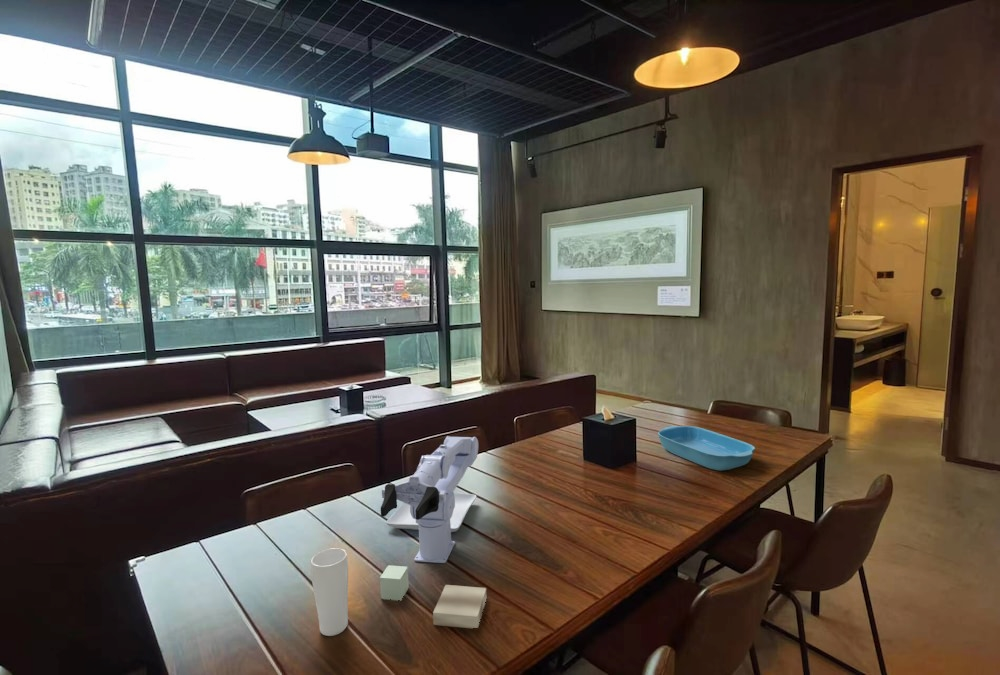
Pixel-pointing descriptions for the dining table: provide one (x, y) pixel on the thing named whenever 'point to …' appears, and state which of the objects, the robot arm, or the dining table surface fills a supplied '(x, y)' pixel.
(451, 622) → the birch base
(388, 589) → the sage block
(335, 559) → the drinking glass
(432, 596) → the dining table surface
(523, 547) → the dining table surface
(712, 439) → the casserole dish
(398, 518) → the salad plate
